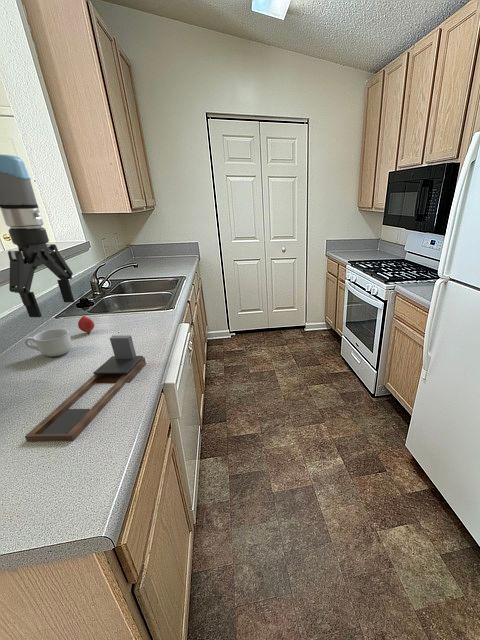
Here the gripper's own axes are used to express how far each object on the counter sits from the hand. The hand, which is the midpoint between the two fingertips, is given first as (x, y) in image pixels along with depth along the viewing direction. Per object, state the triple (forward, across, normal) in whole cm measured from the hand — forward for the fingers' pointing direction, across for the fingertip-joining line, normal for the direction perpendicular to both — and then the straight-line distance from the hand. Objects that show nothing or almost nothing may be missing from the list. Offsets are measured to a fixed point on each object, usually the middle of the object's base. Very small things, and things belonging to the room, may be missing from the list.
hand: (53, 309), depth 92 cm
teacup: (+25, +23, +24) cm, 42 cm away
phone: (+24, -21, -10) cm, 33 cm away
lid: (+22, +8, -9) cm, 25 cm away
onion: (+25, +44, +24) cm, 56 cm away
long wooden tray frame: (+25, -6, -10) cm, 27 cm away
